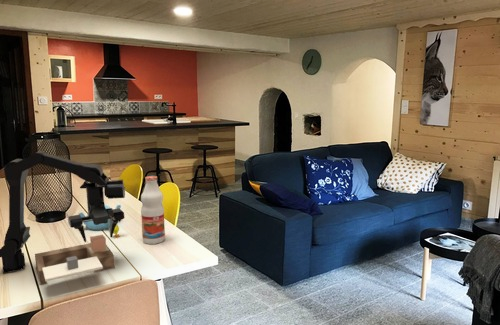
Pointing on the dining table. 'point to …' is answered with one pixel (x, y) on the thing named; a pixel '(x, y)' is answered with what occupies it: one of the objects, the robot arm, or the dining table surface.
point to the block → (98, 243)
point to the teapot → (100, 226)
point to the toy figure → (116, 230)
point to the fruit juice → (152, 212)
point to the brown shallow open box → (79, 251)
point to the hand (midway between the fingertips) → (98, 239)
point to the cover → (71, 268)
